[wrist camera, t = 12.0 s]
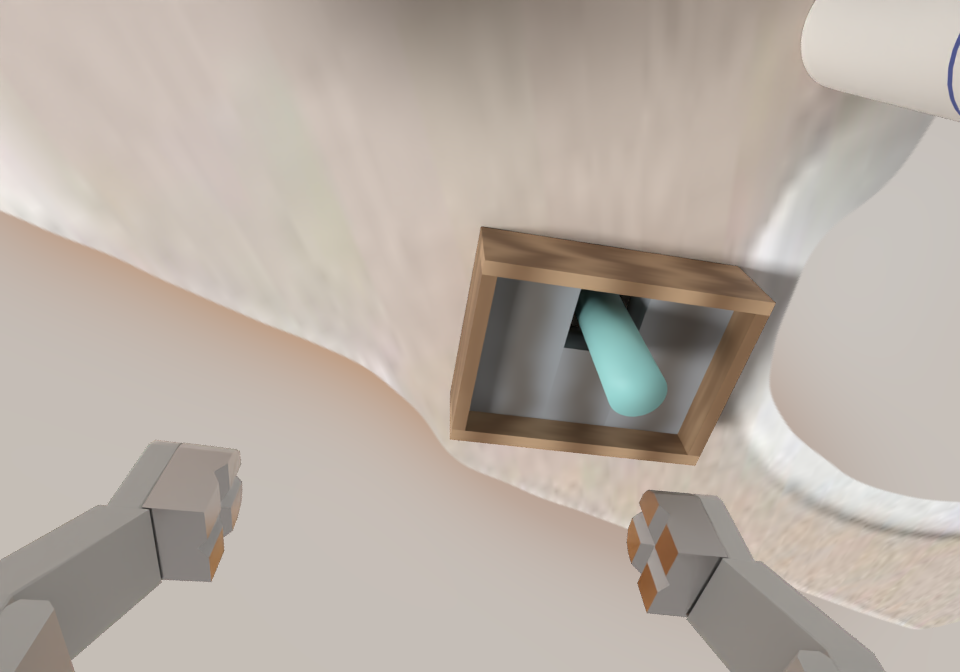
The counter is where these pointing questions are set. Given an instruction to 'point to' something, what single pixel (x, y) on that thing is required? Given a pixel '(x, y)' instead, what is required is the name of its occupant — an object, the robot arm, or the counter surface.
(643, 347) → the peg
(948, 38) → the cylindrical container
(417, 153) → the counter surface
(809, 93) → the counter surface
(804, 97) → the counter surface
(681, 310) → the box
